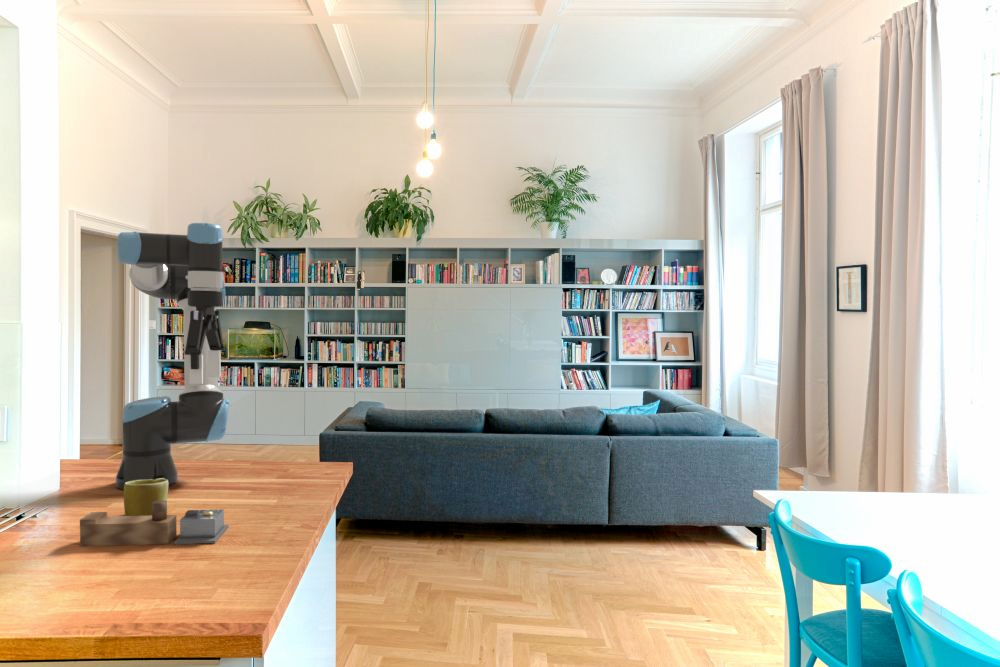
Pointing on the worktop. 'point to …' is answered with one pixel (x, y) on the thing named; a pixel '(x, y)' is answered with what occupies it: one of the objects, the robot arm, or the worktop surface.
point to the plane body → (128, 528)
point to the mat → (200, 540)
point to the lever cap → (201, 523)
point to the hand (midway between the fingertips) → (205, 380)
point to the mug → (143, 495)
